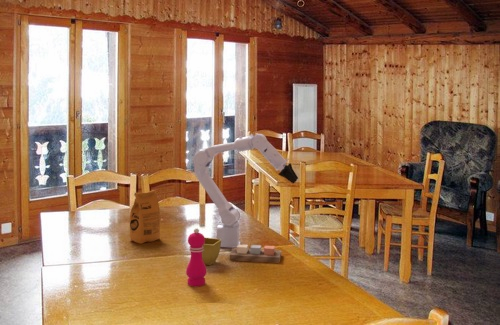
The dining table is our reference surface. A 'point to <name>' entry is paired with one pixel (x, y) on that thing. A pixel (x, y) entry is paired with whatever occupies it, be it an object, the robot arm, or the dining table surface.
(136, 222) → the coffee package
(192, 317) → the dining table surface
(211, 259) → the flower pot
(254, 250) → the slate key
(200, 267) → the pepper mill
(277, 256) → the walnut bezel
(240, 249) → the ivory key
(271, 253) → the brick key
